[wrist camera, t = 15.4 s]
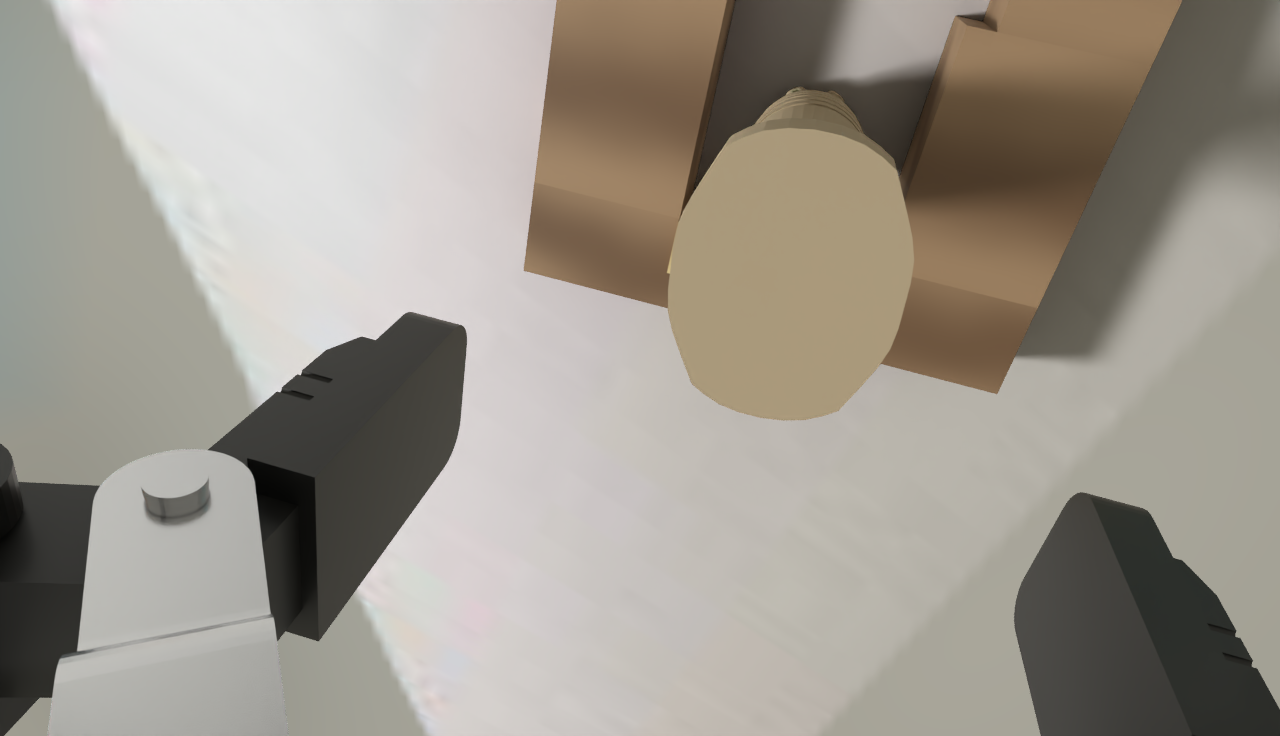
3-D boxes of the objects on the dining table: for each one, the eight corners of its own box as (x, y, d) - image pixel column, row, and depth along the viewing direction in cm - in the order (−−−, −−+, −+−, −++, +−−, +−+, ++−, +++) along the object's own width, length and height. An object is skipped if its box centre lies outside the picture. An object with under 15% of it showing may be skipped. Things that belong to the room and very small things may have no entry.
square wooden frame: (645, -478, 23) (618, -534, 21) (1309, -365, 22) (1380, -408, 19) (547, 244, 34) (521, 273, 32) (984, 356, 33) (998, 398, 30)
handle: (898, 44, 28) (947, 147, 15) (856, 225, 31) (869, 438, 18) (756, 27, 29) (689, 111, 16) (729, 205, 32) (655, 398, 19)
